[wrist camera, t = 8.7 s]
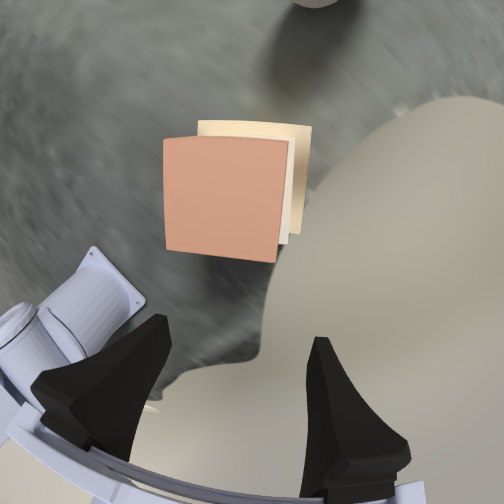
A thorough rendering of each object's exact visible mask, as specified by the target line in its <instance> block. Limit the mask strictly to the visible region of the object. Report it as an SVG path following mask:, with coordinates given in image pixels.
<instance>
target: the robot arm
mask: <svg viewBox="0 0 504 504" xmlns="http://www.w3.org/2000/svg"><path fill="white" fill-rule="evenodd" d="M92 253H93V254H92ZM138 302H139V303H138ZM145 303H146V299H145V298H144V297H143V296H142V295H141V294H140V293H139V292H138V291H137V290H136V289H135V288H134V287H133V286H132V285H131V284H130V283H129V282H128V281H127V280H126V279H125V277H124V276H123V275H122V274H121V273H120V272H119V271H118V270H117V269H116V268H115V267H114V266H113V265H112V264H111V263H110V261H109V260H108V259H107V258H106V257H105V256H104V255H103V254H102V253H101V251H100V250H99V249H98V248H97V247H96V246H92V247H91V248H90V250H89V251H88V253H87V254H86V256H85V258H84V259H83V261H82V262H81V264H80V266H79V267H78V269H77V271H76V273H75V274H74V275H73V276H71V277H70V278H69V279H68V280H67V281H65V282H64V283H63V284H62V285H61V286H60V287H58V288H57V289H56V290H55V291H54V292H53V293H52V294H51V295H49V296H48V297H47V298H46V299H45V300H44V301H43V302H42V303H41V304H39V305H38V306H37V307H36V308H35V307H34V306H33V304H31V303H29V304H28V303H25V302H22V303H20V304H18V305H16V306H14V307H13V308H11V309H10V310H9V311H7V312H6V313H5V314H4V315H2V316H1V317H0V447H1V446H2V445H3V444H4V443H5V442H6V441H7V440H8V439H9V438H10V437H11V438H12V439H13V440H14V441H15V442H17V443H18V444H19V445H20V446H21V447H23V448H24V449H25V450H26V451H27V452H28V453H30V454H31V455H32V456H34V457H35V458H36V459H37V460H39V461H40V462H41V463H43V464H44V465H45V466H47V467H48V468H50V469H51V470H52V471H54V472H55V473H57V474H58V475H60V476H61V477H63V478H64V479H66V480H67V481H69V482H71V483H72V484H74V485H75V486H77V487H79V488H81V489H82V490H84V491H86V492H87V493H89V494H91V495H93V496H94V497H93V500H92V502H91V504H190V503H187V502H183V501H179V500H176V499H173V498H169V497H166V496H163V495H160V494H157V493H154V492H151V491H148V490H144V489H142V488H139V487H138V486H136V485H135V484H133V483H132V481H131V480H129V479H127V478H130V479H132V480H135V481H137V482H140V483H143V484H145V485H148V486H151V487H154V488H157V489H160V490H163V491H166V492H169V493H173V494H176V495H179V496H183V497H187V498H190V499H194V500H198V501H203V502H207V503H212V504H426V498H425V490H424V483H423V480H417V481H414V482H409V483H405V484H401V485H398V486H394V481H396V480H397V474H396V473H397V472H399V471H400V470H401V469H403V468H404V467H406V466H407V465H408V464H409V463H410V461H411V453H410V449H409V445H408V442H407V440H406V439H404V438H403V437H402V436H400V435H399V434H398V433H396V432H395V431H394V430H392V429H391V428H390V427H389V426H388V425H387V424H386V423H385V422H383V421H382V419H381V418H380V417H379V416H378V415H377V414H376V413H375V412H374V411H373V410H372V409H371V408H370V407H369V406H368V404H367V403H366V402H365V401H364V399H363V398H362V397H361V396H360V394H359V393H358V391H357V390H356V389H355V387H354V385H353V384H352V382H351V381H350V379H349V377H348V376H347V374H346V372H345V371H344V369H343V367H342V365H341V363H340V361H339V360H338V357H337V355H336V353H335V351H334V350H333V347H332V345H331V342H330V340H329V339H328V337H315V339H314V342H313V346H312V349H311V353H310V356H309V360H308V363H307V375H306V390H307V391H306V392H307V406H308V407H307V410H308V436H307V447H306V457H305V465H304V472H303V479H302V485H301V491H300V496H299V498H287V497H270V496H260V495H250V494H243V493H236V492H230V491H224V490H219V489H213V488H209V487H204V486H199V485H196V484H191V483H188V482H184V481H180V480H177V479H173V478H170V477H167V476H164V475H160V474H158V473H155V472H152V471H149V470H146V469H143V468H141V467H138V466H135V465H133V464H130V463H128V462H129V458H130V453H131V449H132V444H133V440H134V437H135V433H136V429H137V426H138V423H139V419H140V417H141V414H142V411H143V408H144V405H145V403H146V400H147V398H148V395H149V393H150V391H151V389H152V388H153V386H154V384H155V382H156V380H157V378H158V376H159V374H160V372H161V370H162V368H163V367H164V365H165V363H166V360H167V358H168V355H169V352H170V349H171V346H172V342H171V337H170V331H169V326H168V320H167V316H165V315H160V314H155V315H153V316H152V317H151V318H149V319H148V320H147V321H145V322H144V323H143V324H141V325H140V326H139V327H137V328H136V329H134V330H133V331H132V332H130V333H129V334H128V335H126V336H125V337H123V338H122V339H120V340H119V341H117V342H115V343H114V344H112V345H111V346H109V347H107V348H106V349H104V350H102V351H100V350H101V349H102V347H103V346H104V345H105V343H106V342H107V341H108V339H109V338H110V337H111V335H112V334H113V333H114V332H115V331H116V330H117V329H118V328H119V327H120V326H121V325H122V324H124V323H125V322H126V321H127V320H128V319H129V318H130V317H131V316H132V315H133V314H134V313H136V312H137V311H138V310H139V309H140V308H141V307H142V306H143V305H144V304H145ZM99 351H100V352H99ZM117 473H118V474H117ZM119 474H120V475H119ZM121 475H123V476H125V477H127V478H125V477H123V476H121Z"/></svg>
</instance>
